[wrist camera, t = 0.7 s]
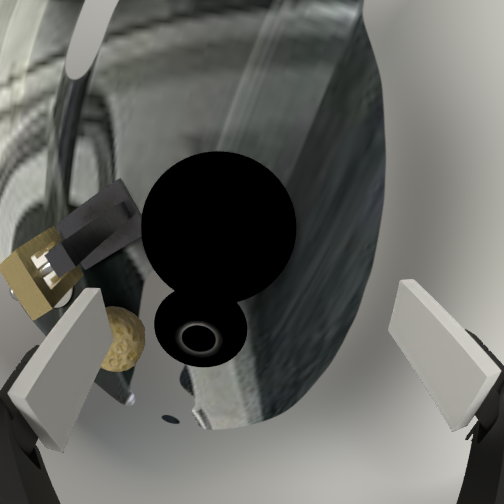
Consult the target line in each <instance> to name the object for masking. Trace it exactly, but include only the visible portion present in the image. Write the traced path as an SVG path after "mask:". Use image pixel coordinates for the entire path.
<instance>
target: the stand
mask: <svg viewBox="0 0 504 504" xmlns="http://www.w3.org/2000/svg"><path fill="white" fill-rule="evenodd" d="M141 219H142V215H141V214H140V212H139V210H138V208H137V207H136V205H135V203H134V201H133V200H132V198H131V196H130V194H129V193H128V191H127V189H126V187H125V186H124V184H123V182H122V180H121V178H120V179H118V180H116V181H115V182H113V183H112V184H110V185H109V186H107V187H106V188H105V189H103V190H102V191H100V192H99V193H97V194H96V195H95V196H93V197H92V198H90V199H89V200H88V201H86V202H85V203H84V204H82V205H81V206H80V207H78V208H77V209H76V210H74V211H73V212H72V213H70V214H69V215H68V216H66V217H65V218H64V219H63V220H61V221H60V222H59V223H58V224H57V225H58V227H59V229H60V230H61V232H62V234H63V235H64V237H65V240H64V241H62V242H61V243H60V244H58V245H57V246H56V247H54V248H53V249H52V250H51V251H49V252H48V253H47V254H45V255H44V256H45V257H46V259H47V262H45V263H44V264H43V265H41V266H40V267H39V268H38V270H39V272H40V274H41V275H42V277H43V278H44V277H46V276H47V275H48V274H50V273H51V272H52V271H54V272H55V273H56V275H57V276H58V278H60V277H61V276H63V275H64V274H66V273H67V272H69V271H70V270H72V269H73V268H75V267H76V266H77V265H78V264H79V263H81V265H82V266H83V268H84V269H85V270H86V269H88V268H90V267H91V266H93V265H94V264H96V263H98V262H99V261H101V260H102V259H104V258H106V257H107V256H109V255H111V254H112V253H114V252H116V251H117V250H119V249H121V248H122V247H124V246H126V245H127V244H129V243H131V242H132V241H134V240H136V239H137V238H139V237H141V236H142V235H141ZM10 294H11V296H12V297H13V298H14V299H15V300H17V301H19V300H18V298H17V297H16V295H15V294H14V292H13V291H12V289H11V288H10Z"/></svg>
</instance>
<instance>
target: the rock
mask: <svg viewBox="0 0 504 504" xmlns="http://www.w3.org/2000/svg"><path fill="white" fill-rule="evenodd" d="M105 309H106V313H107V317H108V321H109V324H110V328H111V331H112V335H113V338H114V340H113V342H112V344H111V346H110V348H109V350H108V352H107V354H106V357H105V359H104V361H103V363H102V365H101V367H100V368H103V369H106V370H108V371H113V372H119V371H124V370H128V369H129V368H131V367H134V366H135V364H136V362H137V360H138V359H139V358H140V355H141V353H142V351H143V348H144V346H145V333H144V332H145V328H144V325H143V323H142V321H141V320H140V319H139V318H138V317H137V316H136V315H135V314H134V313H132V312H130V311H128V310H126V309H125V308H122V307H115V306H113V307H112V306H110V307H106V308H105Z"/></svg>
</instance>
